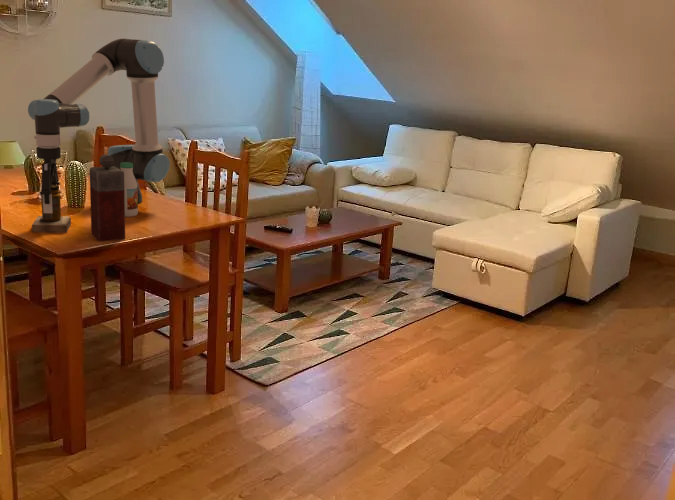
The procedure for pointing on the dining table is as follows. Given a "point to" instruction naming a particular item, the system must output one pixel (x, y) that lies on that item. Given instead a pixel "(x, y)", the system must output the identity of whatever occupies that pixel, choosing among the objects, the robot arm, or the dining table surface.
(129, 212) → the milk bottle
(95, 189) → the square decanter
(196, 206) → the dining table surface
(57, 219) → the condiment
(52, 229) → the stand
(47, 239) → the dining table surface
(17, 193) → the dining table surface
